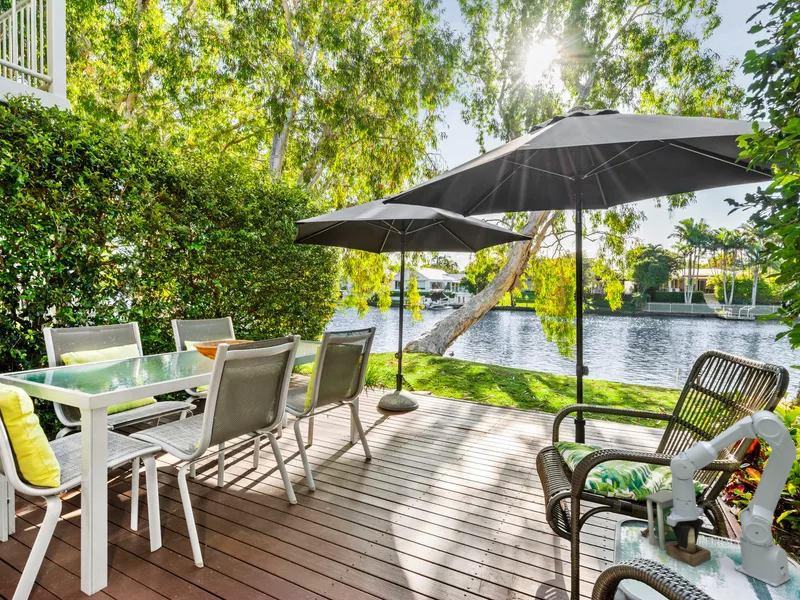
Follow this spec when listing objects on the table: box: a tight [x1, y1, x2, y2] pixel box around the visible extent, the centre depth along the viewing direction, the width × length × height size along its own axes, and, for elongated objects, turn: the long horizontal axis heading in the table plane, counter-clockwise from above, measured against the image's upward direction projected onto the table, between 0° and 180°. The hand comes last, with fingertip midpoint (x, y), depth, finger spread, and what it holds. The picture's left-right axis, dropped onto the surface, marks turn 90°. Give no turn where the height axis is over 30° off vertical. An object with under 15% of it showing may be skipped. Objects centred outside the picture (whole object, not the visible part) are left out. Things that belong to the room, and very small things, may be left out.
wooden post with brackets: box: [640, 518, 656, 538], centre depth 141 cm, size 2×8×4 cm, turn 110°
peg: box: [679, 524, 696, 555], centre depth 127 cm, size 4×4×7 cm
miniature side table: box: [644, 489, 673, 551], centre depth 135 cm, size 6×10×15 cm, turn 116°
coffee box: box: [654, 506, 677, 541], centre depth 137 cm, size 8×3×13 cm, turn 96°
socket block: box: [665, 540, 712, 568], centre depth 127 cm, size 8×8×2 cm
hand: (687, 544), depth 127 cm, fingers closed on peg, 4 cm apart
